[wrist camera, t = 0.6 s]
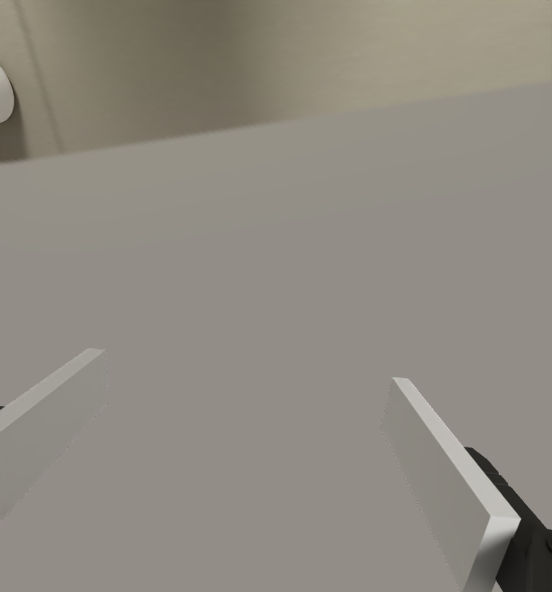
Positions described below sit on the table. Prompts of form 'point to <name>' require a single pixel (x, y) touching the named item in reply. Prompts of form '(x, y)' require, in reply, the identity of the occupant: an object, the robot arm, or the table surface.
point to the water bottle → (5, 97)
